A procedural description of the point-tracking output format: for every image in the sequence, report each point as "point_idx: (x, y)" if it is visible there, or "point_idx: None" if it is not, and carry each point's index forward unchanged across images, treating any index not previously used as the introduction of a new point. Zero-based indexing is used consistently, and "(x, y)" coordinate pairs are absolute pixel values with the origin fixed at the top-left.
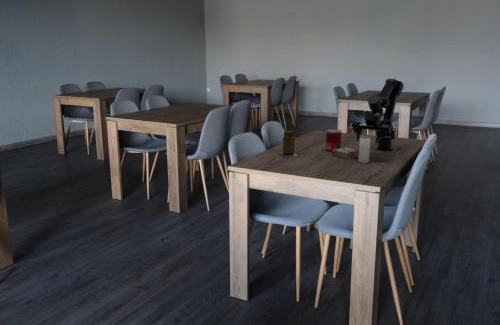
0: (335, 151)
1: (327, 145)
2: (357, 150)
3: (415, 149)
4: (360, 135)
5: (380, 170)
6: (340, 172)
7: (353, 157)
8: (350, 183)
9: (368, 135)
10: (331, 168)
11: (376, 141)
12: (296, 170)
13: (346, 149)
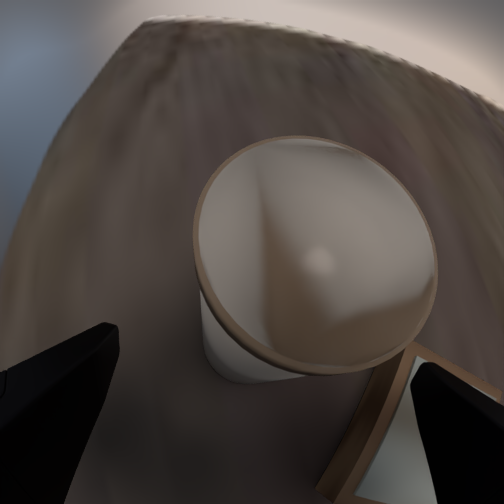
0: (480, 381)
1: None
2: (359, 495)
3: None
4: (410, 202)
5: (113, 154)
6: (295, 81)
7: (352, 421)
8: (225, 20)
9: (267, 272)
10: (355, 121)
11: (94, 329)
12: (422, 91)
13: None
